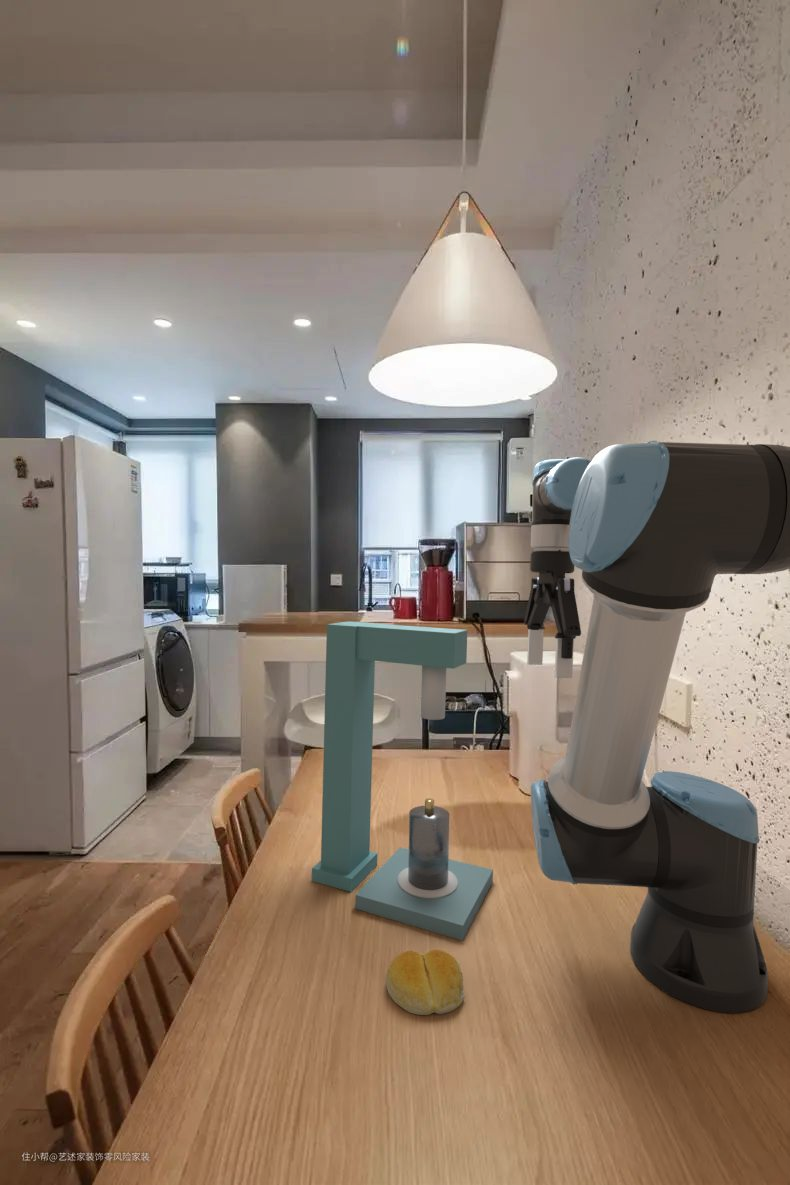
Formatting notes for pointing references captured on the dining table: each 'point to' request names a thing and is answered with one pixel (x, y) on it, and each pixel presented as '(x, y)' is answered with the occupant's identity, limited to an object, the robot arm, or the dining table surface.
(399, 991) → the bread roll
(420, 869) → the cylinder
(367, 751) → the arbor press
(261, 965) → the dining table surface
